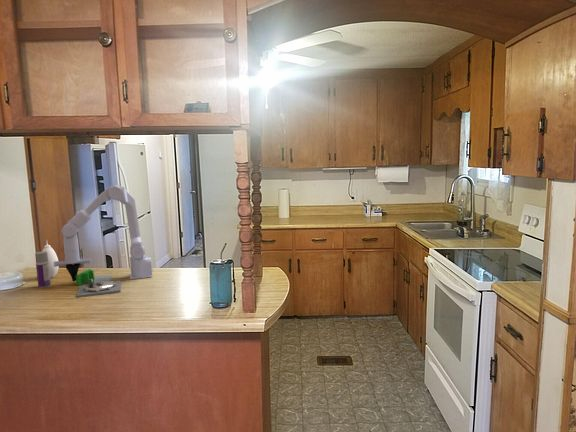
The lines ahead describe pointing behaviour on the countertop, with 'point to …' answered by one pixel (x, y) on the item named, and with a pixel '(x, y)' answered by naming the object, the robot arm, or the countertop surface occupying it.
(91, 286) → the sprocket
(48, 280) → the container
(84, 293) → the mount plate
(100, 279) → the mat
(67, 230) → the robot arm
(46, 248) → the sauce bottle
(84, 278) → the pipe clamp
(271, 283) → the countertop surface
